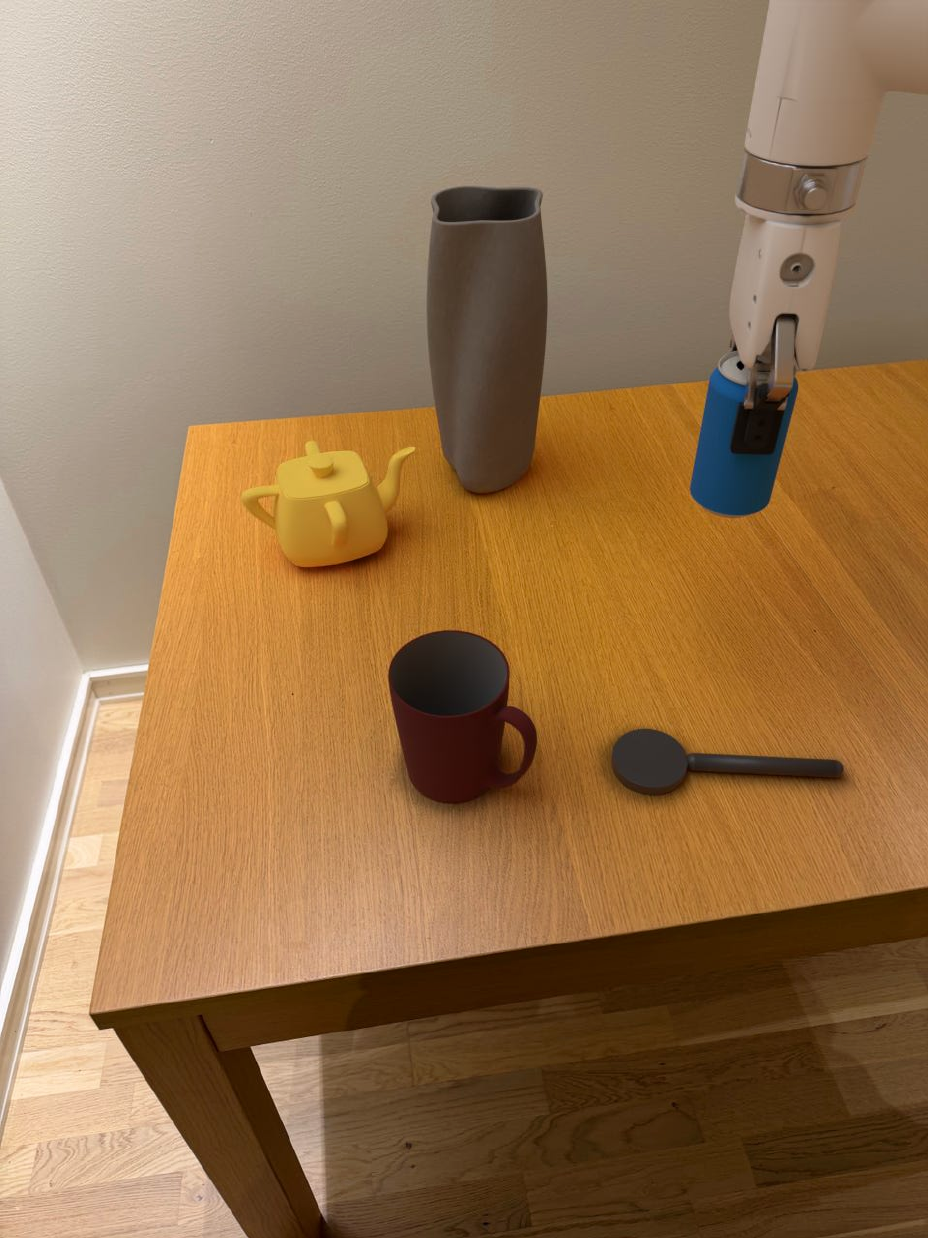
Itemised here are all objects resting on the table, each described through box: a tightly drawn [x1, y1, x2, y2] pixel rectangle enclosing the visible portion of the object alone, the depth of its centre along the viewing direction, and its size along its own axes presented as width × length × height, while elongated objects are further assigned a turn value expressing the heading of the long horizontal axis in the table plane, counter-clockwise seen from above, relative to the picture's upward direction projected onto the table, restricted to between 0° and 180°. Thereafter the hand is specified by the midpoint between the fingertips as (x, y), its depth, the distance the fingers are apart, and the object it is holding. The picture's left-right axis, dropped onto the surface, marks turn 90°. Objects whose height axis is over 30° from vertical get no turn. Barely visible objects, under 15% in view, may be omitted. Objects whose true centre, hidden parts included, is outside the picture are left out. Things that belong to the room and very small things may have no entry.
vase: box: [426, 185, 549, 494], centre depth 94 cm, size 12×12×30 cm
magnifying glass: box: [610, 728, 845, 796], centre depth 71 cm, size 18×6×1 cm, turn 86°
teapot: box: [240, 440, 416, 568], centre depth 91 cm, size 14×13×10 cm
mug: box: [387, 629, 538, 804], centre depth 68 cm, size 12×9×11 cm
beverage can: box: [689, 351, 799, 519], centre depth 70 cm, size 6×6×12 cm
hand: (744, 425), depth 69 cm, fingers closed on beverage can, 6 cm apart
